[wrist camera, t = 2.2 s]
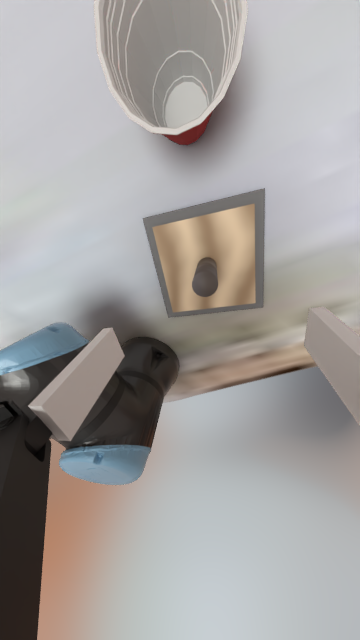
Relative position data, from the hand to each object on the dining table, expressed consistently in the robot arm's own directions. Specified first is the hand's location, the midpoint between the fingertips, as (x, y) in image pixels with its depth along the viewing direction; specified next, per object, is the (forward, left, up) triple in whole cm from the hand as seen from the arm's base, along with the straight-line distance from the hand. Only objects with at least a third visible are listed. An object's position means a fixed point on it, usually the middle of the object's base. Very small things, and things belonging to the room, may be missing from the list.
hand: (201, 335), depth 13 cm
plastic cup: (0, +19, -22) cm, 29 cm away
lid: (0, 0, -21) cm, 21 cm away
